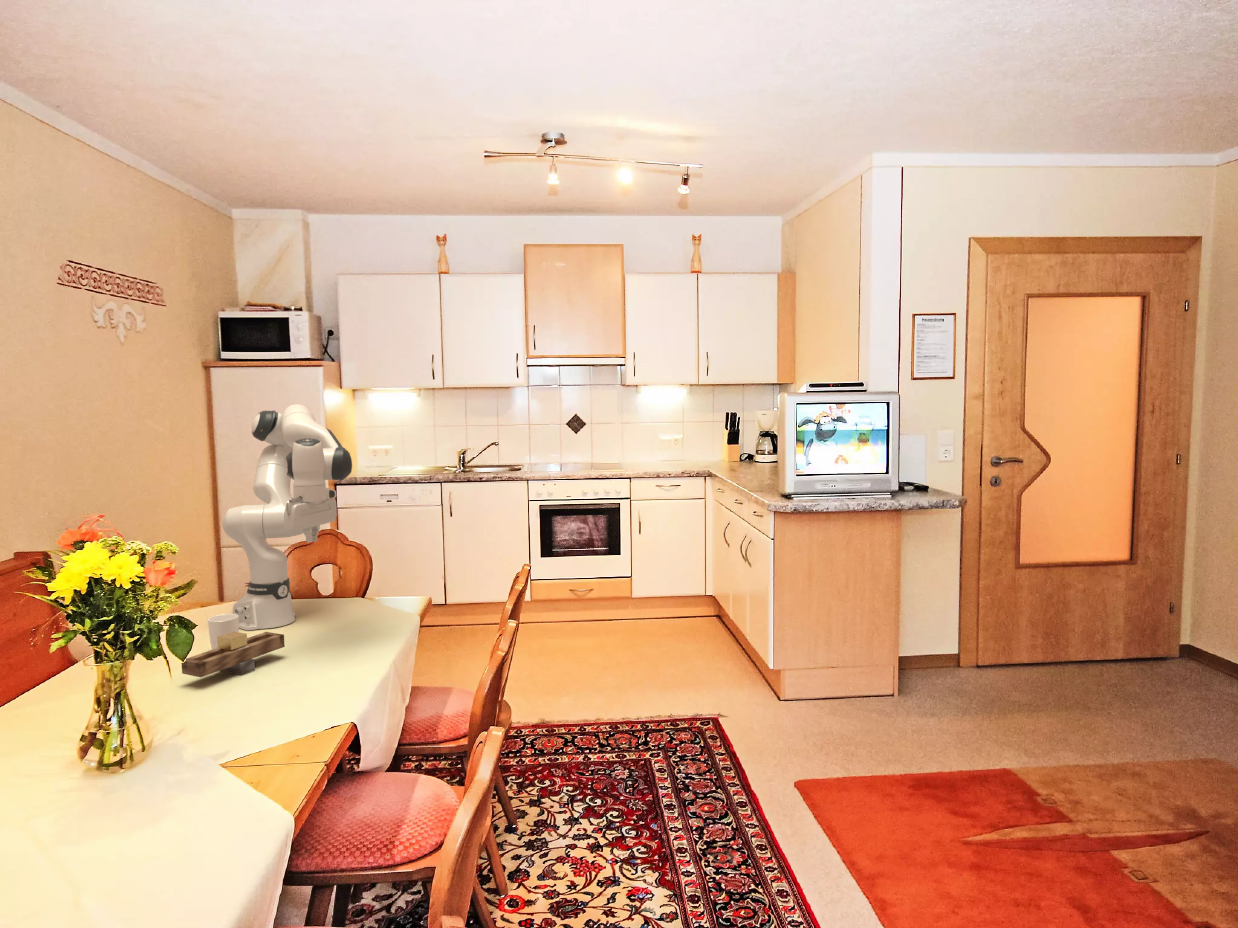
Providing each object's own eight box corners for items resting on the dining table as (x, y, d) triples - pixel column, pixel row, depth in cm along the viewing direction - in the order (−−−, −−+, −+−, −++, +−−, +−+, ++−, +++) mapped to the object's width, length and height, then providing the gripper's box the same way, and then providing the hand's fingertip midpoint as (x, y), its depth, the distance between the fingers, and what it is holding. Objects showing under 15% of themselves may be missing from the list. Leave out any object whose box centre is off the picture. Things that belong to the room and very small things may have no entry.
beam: (204, 689, 192) (202, 663, 191) (180, 684, 196) (178, 659, 195) (287, 657, 216) (286, 634, 215) (264, 653, 219) (263, 630, 219)
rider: (231, 658, 201) (230, 638, 201) (218, 656, 203) (217, 636, 203) (247, 652, 206) (246, 633, 205) (234, 650, 208) (233, 631, 207)
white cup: (245, 647, 225) (244, 613, 224) (229, 656, 217) (227, 621, 216) (220, 646, 226) (218, 613, 225) (203, 655, 218) (201, 621, 217)
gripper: (296, 499, 211) (298, 548, 212) (339, 490, 231) (341, 536, 232) (276, 499, 213) (278, 548, 214) (321, 490, 232) (323, 535, 234)
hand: (311, 541), depth 223 cm, fingers closed
